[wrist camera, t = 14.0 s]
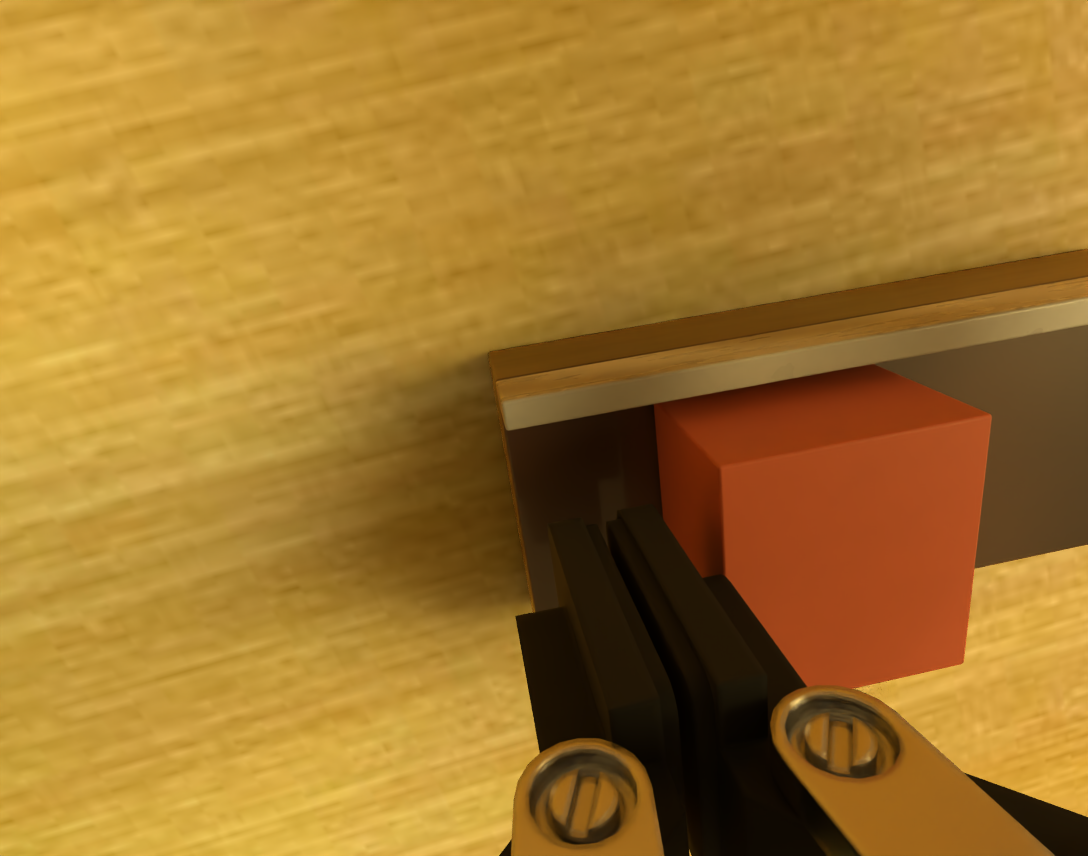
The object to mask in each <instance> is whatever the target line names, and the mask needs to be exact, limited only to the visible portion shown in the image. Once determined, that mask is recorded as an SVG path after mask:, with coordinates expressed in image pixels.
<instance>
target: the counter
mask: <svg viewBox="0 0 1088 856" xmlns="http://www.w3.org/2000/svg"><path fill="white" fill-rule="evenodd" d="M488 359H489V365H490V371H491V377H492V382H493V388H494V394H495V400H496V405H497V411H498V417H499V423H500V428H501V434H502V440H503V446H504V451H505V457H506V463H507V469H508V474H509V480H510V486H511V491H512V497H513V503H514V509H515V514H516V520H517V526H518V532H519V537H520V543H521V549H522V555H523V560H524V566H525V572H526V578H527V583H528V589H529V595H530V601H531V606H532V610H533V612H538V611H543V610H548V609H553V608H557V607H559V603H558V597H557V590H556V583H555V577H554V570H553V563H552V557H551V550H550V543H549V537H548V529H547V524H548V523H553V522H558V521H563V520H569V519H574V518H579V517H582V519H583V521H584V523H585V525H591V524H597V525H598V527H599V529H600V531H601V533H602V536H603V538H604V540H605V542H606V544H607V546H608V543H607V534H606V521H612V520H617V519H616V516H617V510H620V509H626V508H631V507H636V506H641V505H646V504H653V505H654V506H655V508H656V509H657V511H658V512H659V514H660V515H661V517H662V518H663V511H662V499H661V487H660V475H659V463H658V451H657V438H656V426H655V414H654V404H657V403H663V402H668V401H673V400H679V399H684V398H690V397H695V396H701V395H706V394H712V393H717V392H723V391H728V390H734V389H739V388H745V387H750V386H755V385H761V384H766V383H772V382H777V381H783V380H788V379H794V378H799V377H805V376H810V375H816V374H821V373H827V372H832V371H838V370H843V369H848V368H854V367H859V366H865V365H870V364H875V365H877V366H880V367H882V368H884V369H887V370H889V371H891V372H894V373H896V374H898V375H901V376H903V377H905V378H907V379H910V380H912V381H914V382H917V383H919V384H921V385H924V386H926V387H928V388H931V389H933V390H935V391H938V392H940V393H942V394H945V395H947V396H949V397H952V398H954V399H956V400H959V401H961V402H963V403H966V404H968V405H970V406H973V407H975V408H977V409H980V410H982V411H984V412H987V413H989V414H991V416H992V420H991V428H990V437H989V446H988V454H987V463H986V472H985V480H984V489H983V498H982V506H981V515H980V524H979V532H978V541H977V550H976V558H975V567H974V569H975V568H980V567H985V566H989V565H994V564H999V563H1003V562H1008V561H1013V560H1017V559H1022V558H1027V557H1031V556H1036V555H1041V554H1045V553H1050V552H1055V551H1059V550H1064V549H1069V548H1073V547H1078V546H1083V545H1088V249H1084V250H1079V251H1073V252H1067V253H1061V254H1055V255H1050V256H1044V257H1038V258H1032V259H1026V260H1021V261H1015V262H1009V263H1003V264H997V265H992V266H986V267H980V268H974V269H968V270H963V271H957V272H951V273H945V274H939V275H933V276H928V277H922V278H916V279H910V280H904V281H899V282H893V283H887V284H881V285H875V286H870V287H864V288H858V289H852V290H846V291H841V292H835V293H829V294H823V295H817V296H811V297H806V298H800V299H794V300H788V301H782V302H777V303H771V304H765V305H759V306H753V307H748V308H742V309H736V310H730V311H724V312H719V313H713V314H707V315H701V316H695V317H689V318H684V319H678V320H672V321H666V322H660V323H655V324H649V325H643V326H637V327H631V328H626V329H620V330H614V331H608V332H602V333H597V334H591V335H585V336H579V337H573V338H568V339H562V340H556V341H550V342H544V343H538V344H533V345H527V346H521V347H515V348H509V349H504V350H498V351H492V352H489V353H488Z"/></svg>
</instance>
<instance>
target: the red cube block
mask: <svg viewBox="0 0 1088 856" xmlns="http://www.w3.org/2000/svg"><path fill="white" fill-rule="evenodd" d="M654 414H655V426H656V438H657V451H658V463H659V475H660V487H661V499H662V511H663V520H664V521H665V523H666V524H667V526H668V527H669V529H670V530H671V532H672V533H673V535H674V536H675V538H676V539H677V541H678V542H679V544H680V545H681V547H682V548H683V550H684V551H685V553H686V554H687V556H688V557H689V559H690V560H691V562H692V563H693V565H694V566H695V568H696V569H697V571H698V572H699V574H700V575H701V577H702V578H704V577H709V576H714V575H719V574H721V575H725V576H726V577H727V578H728V580H729V581H730V582H731V583H732V585H733V586H734V587H735V589H736V590H737V591H738V593H739V594H740V595H741V597H742V598H743V600H744V601H745V602H746V604H747V605H748V606H749V608H750V609H751V610H752V612H753V613H754V615H755V616H756V617H757V619H758V620H759V621H760V623H761V624H762V625H763V627H764V628H765V630H766V631H767V632H768V634H769V635H770V636H771V638H772V639H773V640H774V642H775V643H776V645H777V646H778V647H779V649H780V650H781V651H782V653H783V654H784V655H785V657H786V658H787V660H788V661H789V662H790V664H791V665H792V666H793V668H794V669H795V671H796V672H797V673H798V675H799V676H800V677H801V679H802V680H803V681H804V683H805V684H806V686H807V687H810V686H815V685H837V686H841V687H846V688H850V689H853V688H858V687H862V686H867V685H871V684H876V683H880V682H884V681H889V680H893V679H898V678H902V677H906V676H911V675H915V674H920V673H924V672H928V671H933V670H937V669H942V668H946V667H950V666H955V665H959V664H962V663H963V662H964V654H965V645H966V637H967V628H968V619H969V611H970V602H971V593H972V584H973V576H974V567H975V558H976V550H977V541H978V532H979V524H980V515H981V506H982V498H983V489H984V480H985V472H986V463H987V454H988V446H989V437H990V428H991V420H992V416H991V414H989V413H987V412H984V411H982V410H980V409H977V408H975V407H973V406H970V405H968V404H966V403H963V402H961V401H959V400H956V399H954V398H952V397H949V396H947V395H945V394H942V393H940V392H938V391H935V390H933V389H931V388H928V387H926V386H924V385H921V384H919V383H917V382H914V381H912V380H910V379H907V378H905V377H903V376H901V375H898V374H896V373H894V372H891V371H889V370H887V369H884V368H882V367H880V366H877V365H875V364H870V365H865V366H859V367H854V368H848V369H843V370H838V371H832V372H827V373H821V374H816V375H810V376H805V377H799V378H794V379H788V380H783V381H777V382H772V383H766V384H761V385H755V386H750V387H745V388H739V389H734V390H728V391H723V392H717V393H712V394H706V395H701V396H695V397H690V398H684V399H679V400H673V401H668V402H663V403H657V404H654Z"/></svg>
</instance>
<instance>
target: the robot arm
mask: <svg viewBox="0 0 1088 856" xmlns="http://www.w3.org/2000/svg"><path fill="white" fill-rule="evenodd" d="M616 519H617V520H612V521H606V534H607V543H608V546H607V544H606V542H605V540H604V538H603V536H602V533H601V531H600V529H599V527H598V525H597V524H591V525H585V523H584V521H583V519H582V517H579V518H574V519H569V520H563V521H558V522H553V523H548V524H547V529H548V537H549V543H550V550H551V557H552V563H553V570H554V577H555V583H556V590H557V597H558V603H559V607H557V608H553V609H548V610H543V611H538V612H533V613H528V614H523V615H518V616H516V622H517V628H518V633H519V639H520V644H521V650H522V655H523V661H524V667H525V672H526V678H527V683H528V689H529V695H530V700H531V706H532V711H533V717H534V722H535V728H536V734H537V739H538V745H539V750H540V754H539V755H538V756H537V757H536V758H535V759H533V760H532V761H531V762H530V763H529V764H528V765H527V767H526V769H525V770H524V772H523V774H522V775H521V777H520V779H519V780H518V783H517V787H516V792H515V796H514V805H513V826H512V840H511V841H510V842H509V844H508V845H507V846H506V848H505V849H504V850H503V851H502V853H501V854H500V855H499V856H689V850H690V853H691V855H692V856H1088V817H1086V816H1083V815H1080V814H1077V813H1075V812H1072V811H1069V810H1066V809H1063V808H1061V807H1058V806H1055V805H1052V804H1050V803H1047V802H1044V801H1041V800H1038V799H1036V798H1033V797H1030V796H1027V795H1025V794H1022V793H1019V792H1016V791H1013V790H1011V789H1008V788H1005V787H1002V786H999V785H997V784H994V783H991V782H988V781H986V780H983V779H980V778H977V777H974V776H972V775H969V774H966V773H963V772H962V771H961V770H960V769H959V768H958V767H957V766H956V765H954V764H953V763H952V762H951V761H950V760H949V759H948V758H947V757H946V756H944V755H943V754H942V753H941V752H940V751H939V750H938V749H937V748H936V747H935V746H933V745H932V744H931V743H930V742H929V741H928V740H927V739H926V738H925V737H923V736H922V735H921V734H920V733H919V732H918V731H917V730H916V729H915V728H914V727H912V726H911V725H910V724H909V723H908V722H907V721H906V720H905V719H904V718H902V717H901V716H900V715H899V714H898V713H897V712H896V711H894V710H893V709H892V708H890V707H889V706H887V705H886V704H885V703H883V702H882V701H880V700H879V699H877V698H875V697H872V696H870V695H868V694H866V693H863V692H861V691H859V690H855V689H850V688H846V687H841V686H837V685H815V686H810V687H807V686H806V684H805V683H804V681H803V680H802V679H801V677H800V676H799V675H798V673H797V672H796V671H795V669H794V668H793V666H792V665H791V664H790V662H789V661H788V660H787V658H786V657H785V655H784V654H783V653H782V651H781V650H780V649H779V647H778V646H777V645H776V643H775V642H774V640H773V639H772V638H771V636H770V635H769V634H768V632H767V631H766V630H765V628H764V627H763V625H762V624H761V623H760V621H759V620H758V619H757V617H756V616H755V615H754V613H753V612H752V610H751V609H750V608H749V606H748V605H747V604H746V602H745V601H744V600H743V598H742V597H741V595H740V594H739V593H738V591H737V590H736V589H735V587H734V586H733V585H732V583H731V582H730V581H729V580H728V578H727V577H726V576H725V575H721V574H719V575H714V576H709V577H704V578H702V577H701V575H700V574H699V572H698V571H697V569H696V568H695V566H694V565H693V563H692V562H691V560H690V559H689V557H688V556H687V554H686V553H685V551H684V550H683V548H682V547H681V545H680V544H679V542H678V541H677V539H676V538H675V536H674V535H673V533H672V532H671V530H670V529H669V527H668V526H667V524H666V523H665V521H664V520H663V518H662V517H661V515H660V514H659V512H658V511H657V509H656V508H655V506H654V505H653V504H646V505H641V506H636V507H631V508H626V509H620V510H617V516H616Z"/></svg>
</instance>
